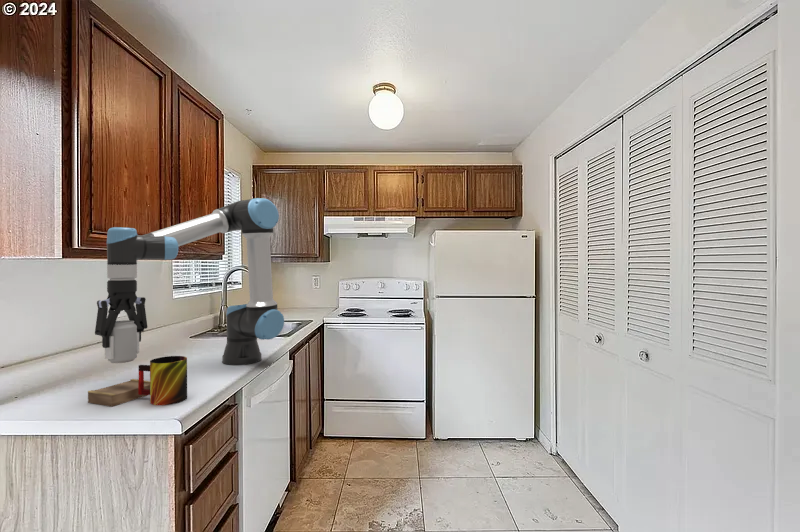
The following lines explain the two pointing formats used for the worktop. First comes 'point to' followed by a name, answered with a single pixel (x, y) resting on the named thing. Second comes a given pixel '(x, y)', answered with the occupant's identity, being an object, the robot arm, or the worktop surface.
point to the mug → (165, 380)
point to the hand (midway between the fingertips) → (122, 355)
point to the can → (124, 341)
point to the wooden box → (117, 393)
